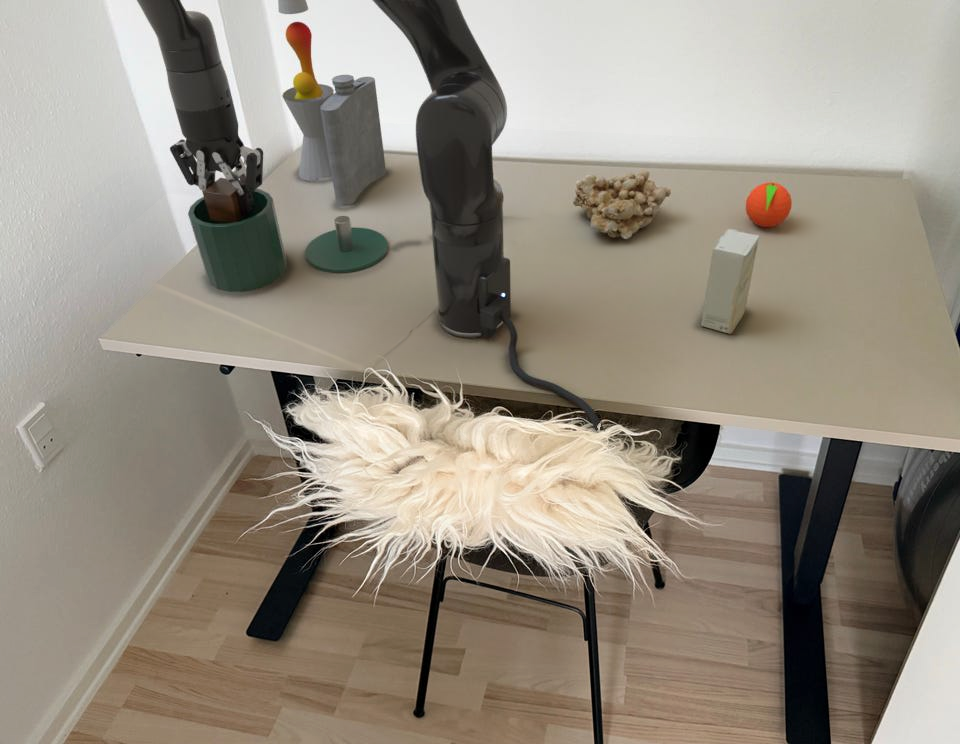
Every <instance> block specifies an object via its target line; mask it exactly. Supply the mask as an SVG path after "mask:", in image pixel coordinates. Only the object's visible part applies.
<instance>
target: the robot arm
mask: <svg viewBox="0 0 960 744" xmlns="http://www.w3.org/2000/svg"><path fill="white" fill-rule="evenodd" d="M371 1H372V2H373V3H374V5H376V6H377V7H378V8H379V10H380V11H381V12H382V13H383V14H384V15H385V16H386V17H387V18H388V19H389V20H390V21H391V22H392V23H393V24H394V25H395V26H396V27H397V28H398V29H399V31H401V33H402V35H404V37H405V38H406V39H407V40H408V42H409V44H410V45H411V47H412V48H413V50H414V52H415V55H416V56H417V58H418V60H419V61H420V62H419V63H420V65H421V66H422V69H423V71H424V74H425V76H426V80H427V82H428V84H429V87H430V89H431V93H430V94H429V95H428V96H427V97H426V98H425V99H424V100H423V101H422V103H421V105H420V106H419V108H418V112H417V114H416V118H415V143H416V151H417V158H418V166H419V173H420V181H421V186H422V190H423V193H424V195H425V197H426V198H427V201H428V203H429V212H430V224H431V237H432V238H431V239H432V247H433V249H432V250H433V259H434V260H433V261H434V271H435V272H434V273H435V283H436V294H437V306H438V323H439V325H440V327H441V328H442V329H443V330H444V331H445V332H447V333H448V334H450V335H452V336H456V337H460V338H465V339H466V338H467V339H472V338H484V339H486V340H488V339H490V338H491V337H492V336H494V334H495V333H497V331H499V330H500V329H501V328H502V327H503V326H504V325H505V327H506V328H507V330H508V331H509V336H510V337H509V339H510V340H509V344H508V354H509V355H508V356H509V363H510V367H511V369H512V371H513V372H514V374H515V375H516V376H517V377H518V378H520V379H521V380H522V381H524V382H526V383H528V384H530V385H533V386H536V387H541V388H544V389H546V390H550V391H552V392H554V393H555V394H558V395H559V396H561V397H563V398H565V399H566V400H568V401H569V402H571V403H573V404H575V405H576V406H577V407H579V408H580V410H582V411H583V412H584V413H585V415H586V416H587V418H588V419H589V421H590V422H591V424H592V426H593V427H594V430H595V431H596V432H597V430H598V428H597V425H598V424H599V423H600V422H601V420H600V418H599V417H598V415H597V414H596V412H595V411H594V409H593V408H592V407H591V406H590V405H589V404H588V403H587V402H586V401H585V400H583V398H581V397H579V396H578V395H576V394H574V393H572V392H571V391H569V390H568V389H565V388H564V387H561V386H560V385H559V384H556V383H554V382H551V381H548V380H545V379H541V378H537V377H534V376H531V375H529V374H528V373H526V372H525V371H524V370H523V369H522V368H521V367H520V366H519V364H518V363H519V362H518V357H517V342H518V332H517V328H516V326H515V324H514V323H513V321H512V320H511V318H512V291H511V289H512V288H511V283H512V282H511V259H510V258H508V257H505V253H504V251H505V250H504V206H503V205H504V195H503V196H502V192H503V189H502V186H501V184H500V183H499V181H497V180H496V178H494V166H493V165H494V164H493V163H494V162H493V145H494V144H495V143H496V141H497V140H498V138H499V137H500V136H501V134H502V132H503V131H504V129H505V126H506V123H507V119H508V104H507V100H506V95H505V94H504V92H503V91H504V90H503V88H502V87H501V84H500V82H499V81H498V78H497V77H496V75H495V73H494V71H493V70H492V67H491V66H490V65H489V62H488V61H487V59H486V56H485V55H484V53H483V51H482V50H481V47H480V46H479V44H478V42H477V40H476V38H475V37H474V34H473V33H472V30H471V28H470V27H469V25H468V23H467V20H466V18H465V17H464V15H463V11H462V10H461V7H460V5H459V2H458V0H371ZM136 2H137V3H138V5H139V7H140V9H141V10H142V12H143V15H144V16H145V18H146V20H147V21H148V23H149V25H150V27H151V29H152V30H153V32H154V34H155V36H156V38H157V42H158V47H159V48H160V53H161V57H162V60H163V63H164V67H165V72H166V77H167V84H168V88H169V92H170V95H171V99H172V103H173V106H174V109H175V113H176V116H177V121H178V124H179V128H180V131H181V135H182V136H183V137H184V138H185V139H182V138H181V139H180V140H178V141H176V142H175V143H173V145H171V146H170V147H169V151H170V153H171V154H172V157H173V159H174V160H175V162H176V164H177V166H178V168H179V171H180V172H181V174H182V175H183V178H184V179H185V181H186V183H187V185H189V186H197V187H198V188H199V190H200V191H201V192H202V193H203V191H204V190H205V189H207V188H208V187H209V186H210V185H212V184H213V183H214V182H215V181H216V172H218V173H219V172H220V173H222V174H223V176H224V178H226V179H227V181H229V182H231V183H232V185H233V187H234V189H235V191H236V192H237V195H236V196H237V200H238V204H239V208H240V212H241V216H242V217H244V218H248V217H249V216H250V215H251V214H252V213H253V211H254V210H255V205H254V201H253V197H252V193H253V192H254V191H255V190H256V189H259V187H261V186H262V185H263V177H264V176H263V172H264V171H263V170H264V151H263V149H262V148H260V147H256V148H255V149H253V148H250V147H248V146H245V144H244V142H243V141H242V139H241V137H240V136H239V121H238V117H237V113H236V108H235V104H234V100H233V95H232V92H231V87H230V82H229V79H228V76H227V73H226V70H225V68H224V64H223V62H222V59H221V54H220V50H219V46H218V45H219V44H218V42H217V38H216V32H215V30H214V26H213V24H212V21H211V19H210V18H209V17H208V16H207V15H206V14H205V13H202V12H200V11H197V10H196V11H195V10H186V8H185V7H184V5H183V3H182V1H181V0H136ZM242 158H243V159H242ZM233 169H234V171H233ZM240 181H241V182H242V184H241V182H240ZM202 195H203V194H202ZM202 197H204V195H203V196H202ZM204 199H205V198H204ZM205 203H206V202H205ZM206 206H207V205H206ZM600 430H604V431H605V428H604V426H603V424H602V423H601V427H600Z"/></svg>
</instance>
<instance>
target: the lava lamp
mask: <svg viewBox="0 0 960 744" xmlns="http://www.w3.org/2000/svg"><path fill="white" fill-rule="evenodd" d="M277 6H278V8H277V9H278V13H280V14H282V15H296V14H302V13H305V12H307V11H308V10H309V6H308V3H307V0H277ZM312 36H313V35H312V31H311V29H310V27H309V26H308V25H307V24H306V23H304V22H301V21H293V22H291V23H289V25H288V26H287V27H286V29H285V39H286V42H287V43H288V45H289V46H290V47H291V49H292V50H293V52H294V53H295V55H296V56H297V58H298V61H299V64H300V68H301V72H298V73H297V74H296V75H295V76H294V77H293V80H292V85H293V87H290V88H288V89H286V90H285V91H284V92H283V93H282V99H283V101H284V102H285V104H286V106H287V108H288V110H289V111H290V113H291V115H292V117H293V118H294V120H295V122H296V124H297V126H298V127H299V129H300V131H301V133H302V135H303V136H302V145H301V152H300V161H299V170H298V176H299V178H300V179H302V180H304V181H306V182H315V183H316V182H317V181H319V180H320V179H326V178H332V174H331V168H330V162H329V156H328V151H327V145H326V139H325V133H324V127H323V121H322V115H321V109H320V107H321V106H322V104H323V103H324V102H325V101H326V100H327V99H328V98H329V97H330V96H332V95H333V94H334V93H335V89H334V87H332V86H330V85H327V84H323V83H318V81H317V79H316V75H315V73H314V68H313V60H312V39H313V38H312Z"/></svg>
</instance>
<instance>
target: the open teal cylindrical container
mask: <svg viewBox="0 0 960 744" xmlns="http://www.w3.org/2000/svg"><path fill="white" fill-rule="evenodd" d="M252 197H253V201H254V205H255V210H254V211H253V213H252V214H251V215H250V216H249V217H248V218H244V219H243V220H242V221H240V222H234V223H227V222H220V221H212V220H211V219H210V216H209V212H208V209H207V206H206V203H205V199H204V196H202V197H200V198H198V199H197V200H196V201H194V203H192V204H191V205H190V206H189V209H188V212H187V216H188V219H189V222H190V225H191V228H192V232H193V235H194V239H195V242H196V246H197V248H198V253H199V255H200V258H201V262H202V266H203V268H204V271H205V275H206V278H207V280H208V283H209V285H211V286H212V287H214V288H216V289H217V290H220V291H224V292H228V293H229V292H231V293H235V292H236V293H238V292H239V293H241V292H242V293H243V292H250V291H254V290H258V289H261V288H264V287H267V286H268V285H271V284H272V283H274V282H276V281H277V280H279V279H280V278H281V277H282V276H283V275H284V274H285V273H286V271H287V266H288V260H287V256H286V251H285V247H284V243H283V238H282V234H281V229H280V225H279V221H278V217H277V212H276V208H275V202H274V199H273V197H272V195H271V194H270V193H269V192H267V191H265V190H263V189H260V188H257V189H256V190H255V191H254V192H253V193H252Z"/></svg>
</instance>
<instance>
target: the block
mask: <svg viewBox="0 0 960 744" xmlns="http://www.w3.org/2000/svg"><path fill="white" fill-rule="evenodd" d="M240 182H241V181H240ZM241 184H242V182H241ZM202 195H204V196H203V197H204V198H205V202H206V205H207V209H208V212H209V216H210V219H211V220H212V221H220V222H227V223H234V222H240V221H242V220H243V219H244V217H242V216H241V212H240V208H239V204H238V200H237V196H236V195H237V192H236V191H235V189H234V187H233V185H232V183H231V182H229V181H227V179H226V177H219V178H217V180H215V182H214V183H213V184H212V185H210V186H209V187H208V188H207V189H205V190H204V191H203V192H202Z"/></svg>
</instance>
